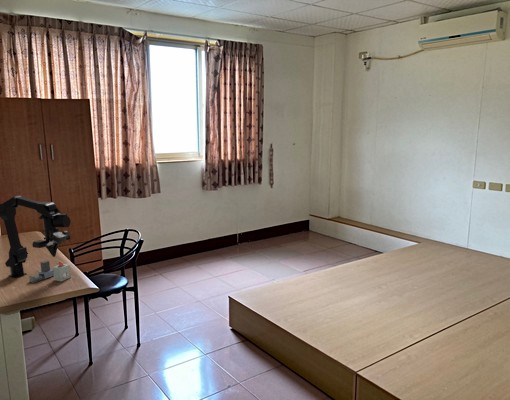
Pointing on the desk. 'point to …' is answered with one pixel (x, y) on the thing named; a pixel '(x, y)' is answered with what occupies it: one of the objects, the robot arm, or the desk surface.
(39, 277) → the rail
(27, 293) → the desk surface
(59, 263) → the button
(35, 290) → the desk surface
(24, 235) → the desk surface
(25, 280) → the desk surface
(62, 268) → the cabinet
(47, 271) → the carriage
